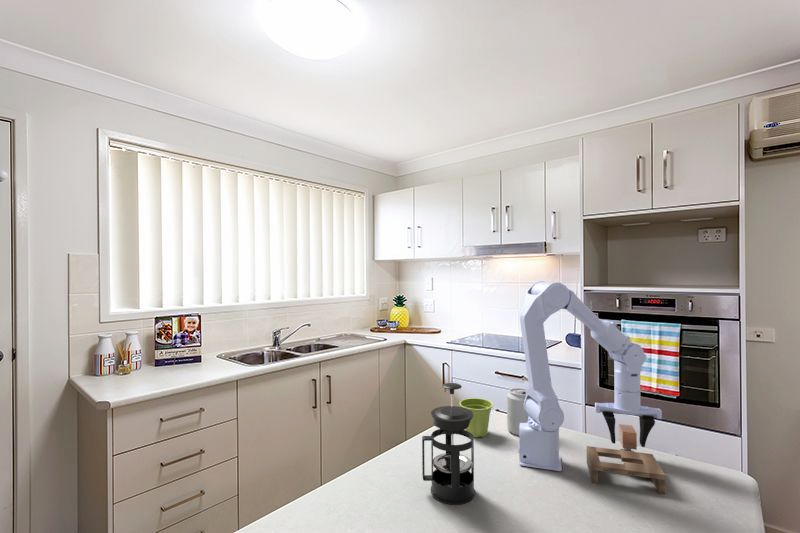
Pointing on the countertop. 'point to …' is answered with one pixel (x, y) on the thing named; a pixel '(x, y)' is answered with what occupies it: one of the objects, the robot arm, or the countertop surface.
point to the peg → (627, 437)
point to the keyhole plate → (625, 465)
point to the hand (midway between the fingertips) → (627, 443)
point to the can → (516, 409)
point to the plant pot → (478, 415)
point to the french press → (451, 454)
